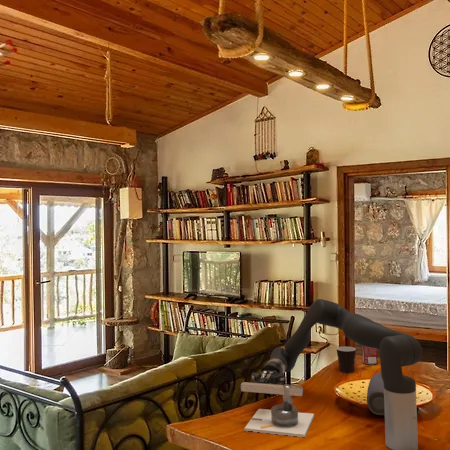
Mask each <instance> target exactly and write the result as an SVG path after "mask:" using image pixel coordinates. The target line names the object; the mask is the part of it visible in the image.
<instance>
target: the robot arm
mask: <svg viewBox="0 0 450 450" xmlns="http://www.w3.org/2000/svg"><path fill="white" fill-rule="evenodd" d="M316 324H319V325H323V326H327V327H332V328H337V329H339V330H341V331H342V332H343V334H344V335H345V337H346V338H347V339H349V340H350V341H352V342H354V343H356V344H357V345H361V346H366V347H371V348H377V350H378V349H379V350H378V351H379V363H380V364H379V365H380V373H381V376H382V379H383V383H384V410H385V415H384V434H385V436H384V437H385V439H384V440H385V446H386V447H387V448H389V449H390V450H419V445H418V443H419V440H418V439H419V438H418V437H419V436H418V434H419V433H418V415H417V414H418V413H417V412H418V411H417V382H416V380H415V379H414V378H412V377H410V376H407V375H404V374H403V368H402V367H408V366H412V365H415V364H417V363H419V362H420V361H421V359H422V357H423V348H422V346H421V344H420V342H419V341H418V340H417V338H415V337H414V336H413V335H411V334H408V333H405V332H401V331H398V330H394V329H392V328H390V327H387V326H385V325H383V324H380V323H378V322H377V321H374V320H372V319H370V318H368V317H366V316H364V315H361V314H359V313H355V312H351V311H349V310H347V309H346V308H344V307H343V306H341V304H339V303H337V302H334V301H331V300H326V299H323V298H318V299H315V300H314V301H313V302H312V304H311V305H310V307H309V309H308V310H307V312H306V313H305V315H304V316H303V318H302V320H301V322H300V323H299V326H298V327H297V328H296V330H295V332H294V333H293V334H292V335H291V337H289V339H288V340H286V342H285V343H284V347H282V346H277V347H275V348H274V349H273V350H272V352H271V354H270V357H269V358H270V359H269V360H268V362H266V364H265V365H264V366H263V367H262V368H261V371H258V372H257V373H256V372H251V380H252V381H253V383H261V384H274V385H279V384H282V383H285V381H286V380H285V374H284V373H289V372H291V371H292V370H293V369H294V367H295V366H296V362H297V360H298V358H299V356H300V354H301V353H302V352H303V351H304V350H306V348H307V346H308V345H309V343H310V341H311V330H312V328H313V327H314V326H315V325H316Z"/></svg>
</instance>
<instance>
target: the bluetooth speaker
mask: <svg viewBox="0 0 450 450" xmlns="http://www.w3.org/2000/svg"><path fill="white" fill-rule="evenodd" d="M366 403H367V404H366V405H367V407H368V410H369V411H370V412H371V413H373V414H374V415H377V416H385V410H384V383H383V379H382V376H381V372H375V374H373V375H372V376H371V378H370V380H369V383H368V386H367V391H366Z"/></svg>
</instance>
